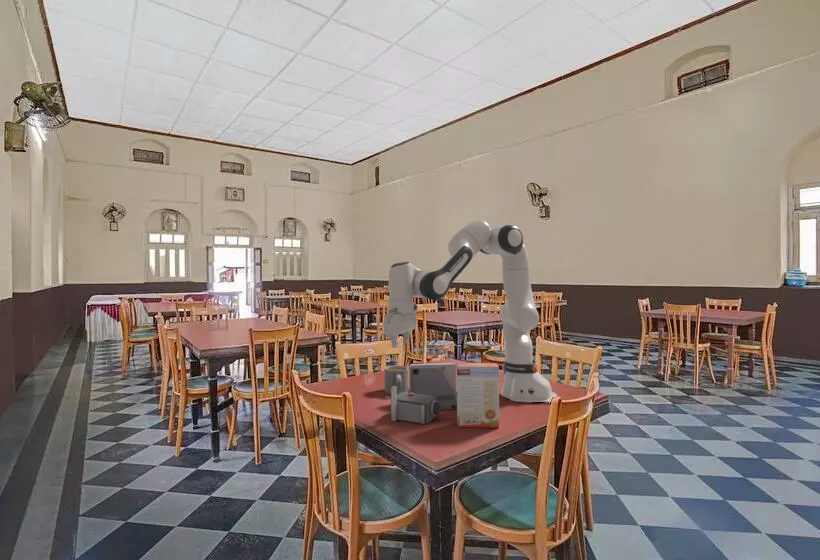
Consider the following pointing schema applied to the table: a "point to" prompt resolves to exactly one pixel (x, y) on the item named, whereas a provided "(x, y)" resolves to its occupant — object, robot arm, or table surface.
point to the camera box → (422, 403)
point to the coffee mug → (396, 378)
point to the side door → (405, 409)
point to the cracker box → (478, 395)
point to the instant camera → (435, 382)
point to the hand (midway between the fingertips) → (400, 345)
